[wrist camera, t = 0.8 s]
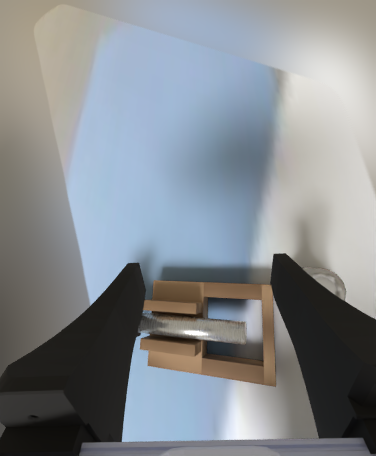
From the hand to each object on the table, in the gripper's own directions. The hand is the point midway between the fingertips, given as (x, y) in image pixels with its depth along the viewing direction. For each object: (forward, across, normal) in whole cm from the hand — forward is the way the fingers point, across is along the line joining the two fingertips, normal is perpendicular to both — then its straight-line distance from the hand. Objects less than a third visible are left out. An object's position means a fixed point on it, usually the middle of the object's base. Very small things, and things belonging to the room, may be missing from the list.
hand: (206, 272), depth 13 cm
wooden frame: (+8, 0, +14) cm, 16 cm away
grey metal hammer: (+7, +3, +13) cm, 15 cm away
